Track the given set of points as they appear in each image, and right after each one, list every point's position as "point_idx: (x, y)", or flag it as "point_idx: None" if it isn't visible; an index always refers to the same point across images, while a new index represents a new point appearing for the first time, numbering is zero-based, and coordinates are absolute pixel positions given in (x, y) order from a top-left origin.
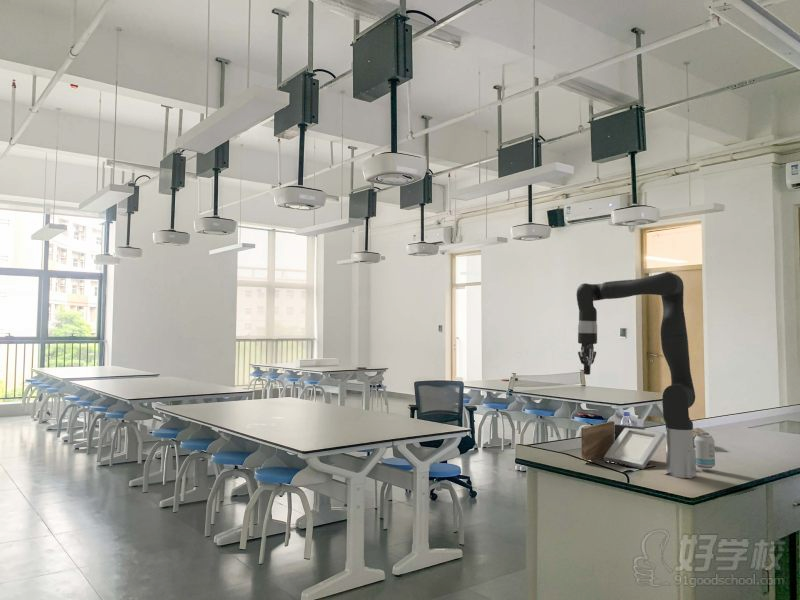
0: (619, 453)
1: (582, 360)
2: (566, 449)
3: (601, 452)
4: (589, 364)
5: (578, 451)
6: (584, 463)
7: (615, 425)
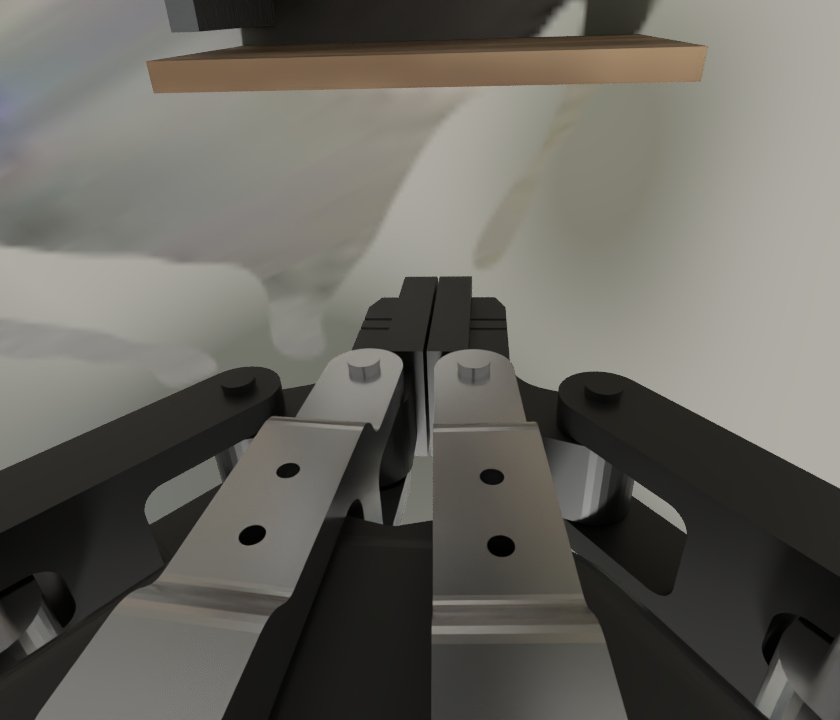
0: None
1: (612, 534)
2: (313, 303)
3: (419, 42)
4: (477, 352)
5: (313, 240)
6: None
7: (199, 22)
